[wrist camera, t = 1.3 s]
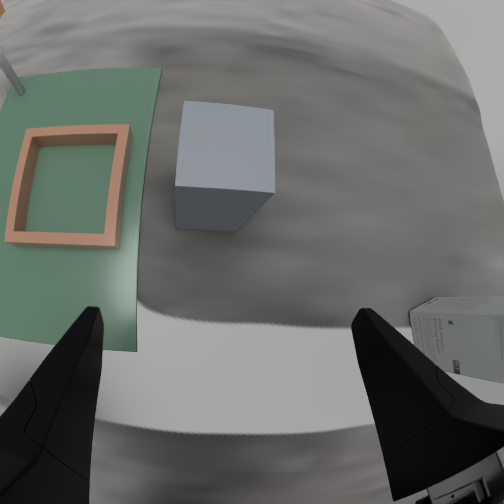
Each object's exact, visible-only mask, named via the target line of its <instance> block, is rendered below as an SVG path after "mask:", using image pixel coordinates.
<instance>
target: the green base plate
mask: <svg viewBox="0 0 504 504" xmlns="http://www.w3.org/2000/svg"><path fill="white" fill-rule="evenodd" d="M4 12H5V10H4V8H3V5H2V3H1V0H0V17H1V16H2V14H3V13H4ZM0 67H1V68H2V70H3V71H4V73H5V75H6V76H7V78H8V79H9V81H10V82H11V86H10V88H9V91H8V93H7V96H6V98H5V101H4V104H3V106H2V109H1V112H0V337H6V338H11V339H17V340H23V341H31V342H37V343H44V344H52V345H56V344H57V342H58V341H59V340H60V339H61V337H62V336H63V335H64V334H65V332H66V331H67V330H68V329H69V327H70V326H71V325H72V324H73V323H74V321H75V320H76V319H77V318H78V316H79V315H80V314H81V313H82V312H83V310H84V309H85V308H86V307H87V306H97V307H99V308H100V310H101V314H102V318H103V322H104V337H103V350H115V351H129V352H137V272H138V250H139V234H140V220H141V208H142V197H143V187H144V178H145V170H146V162H147V154H148V147H149V140H150V133H151V127H152V120H153V114H154V109H155V103H156V97H157V92H158V87H159V82H160V77H161V72H162V68H110V69H91V70H78V71H67V72H58V73H50V74H42V75H35V76H29V77H23V78H18V77H17V75H16V74H15V72H14V70H13V69H12V67H11V65H10V64H9V62H8V60H7V58H6V57H5V55H4V53H3V51H2V50H1V48H0Z"/></svg>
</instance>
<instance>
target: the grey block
mask: <svg viewBox="0 0 504 504" xmlns="http://www.w3.org/2000/svg"><path fill="white" fill-rule="evenodd" d="M274 193H275V150H274V110H269V109H262V108H254V107H247V106H238V105H229V104H219V103H208V102H195V101H184V105H183V113H182V121H181V129H180V138H179V148H178V157H177V168H176V179H175V221H176V229H183V230H206V231H226V232H237V231H238V230H239V229H240V228H241V227H242V226H243V225H244V224H245V223H246V222H247V221H248V220H249V219H250V218H251V217H252V216H253V215H254V214H255V213H256V212H257V211H258V209H259V208H260V207H261V206H262V205H263V204H264V203H265V202H266V201H267V200H268V199H269V198H270V197H271V196H272V195H273V194H274Z"/></svg>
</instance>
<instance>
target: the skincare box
mask: <svg viewBox="0 0 504 504" xmlns="http://www.w3.org/2000/svg"><path fill="white" fill-rule="evenodd" d="M410 322H411V328H412V335H413V340H414V346H416V347H417V348H418V349H419V350H420V351H421V352H422V353H424V354H425V355H426V356H427V357H428V358H429V359H430V360H431V361H433V362H434V363H435V365H437V366H438V367H439V368H441V369H442V370H443V371H446V372H450V373H455V374H460V375H464V376H469V377H473V378H479V379H484V380H489V381H494V382H498V383H504V296H477V297H435V298H433V299H431V300H429V301H427V302H426V303H424V304H422V305H420V306H418V307H416V308H415V309H413V310H411V311H410Z"/></svg>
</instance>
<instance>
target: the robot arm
mask: <svg viewBox="0 0 504 504" xmlns="http://www.w3.org/2000/svg"><path fill="white" fill-rule="evenodd" d="M351 329H352V334H353V339H354V344H355V349H356V355H357V359H358V364H359V368H360V371H361V375H362V378H363V382H364V385H365V388H366V392H367V395H368V399H369V403H370V407H371V410H372V414H373V418H374V421H375V425H376V429H377V433H378V437H379V441H380V445H381V449H382V453H383V456H384V457H383V458H384V462H385V466H386V471H387V475H388V479H389V484H390V489H391V493H392V498H393V501H397V500H400V499H402V498H405V497H408V496H410V495H413V494H415V493H417V492H420V491H422V490H424V489H427V492H428V495H427V496H425V497H423V498H421V499H419V500H417V501H416V503H415V504H504V405H498V404H490V403H486V402H483V401H482V400H480V399H478V398H477V397H475V396H474V395H473V394H472V393H470V392H469V391H468V390H466V389H465V388H464V387H462V386H461V385H460V384H458V383H457V382H456V381H455V380H453V379H452V378H451V377H450V376H448V375H447V374H446V373H445V372H444V371H443V370H442V369H441V368H439V367H438V366H437V365H435V363H434V362H433V361H431V360H430V359H429V358H428V357H427V356H426V355H425V354H424V353H422V352H421V351H420V350H419V349H418V348H417V347H416V346H414V345H413V344H412V343H411V342H410V341H409V340H407V339H406V338H405V337H404V336H403V335H402V334H401V333H399V332H398V331H397V330H396V329H395V328H394V327H392V326H391V325H390V324H389V323H388V322H387V321H385V320H384V319H383V318H382V317H381V316H380V315H378V314H377V313H376V312H375V311H374V310H372V309H371V308H361V309H360V310H359V311H358V313H357V315H356V316H355V318H354V320H353V322H352V325H351ZM103 337H104V322H103V318H102V314H101V310H100V308H99V307H97V306H87V307H86V308H85V309H84V310H83V312H82V313H81V314H80V315H79V316H78V318H77V319H76V320H75V321H74V323H73V324H72V325H71V326H70V327H69V329H68V330H67V331H66V332H65V334H64V335H63V336H62V337H61V339H60V340H59V341H58V342H57V344H56V345H55V346H54V348H53V349H52V350H51V352H50V353H49V354H48V355H47V357H46V358H45V359H44V361H43V362H42V363H41V365H40V366H39V367H38V369H37V370H36V371H35V373H34V374H33V375H32V377H31V378H30V381H28V382H27V383H26V385H25V386H24V388H23V389H22V390H21V392H20V393H19V394H18V396H17V397H16V398H15V400H14V401H13V402H12V403H11V404H10V406H9V407H8V408H7V409H6V410H5V412H4V413H3V414H2V415H1V416H0V504H89V488H90V482H89V481H90V466H91V452H92V440H93V430H94V421H95V412H96V405H97V397H98V390H99V384H100V377H101V368H102V352H103Z"/></svg>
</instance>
